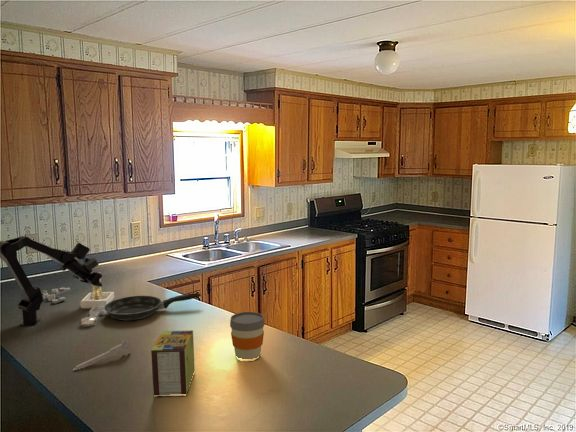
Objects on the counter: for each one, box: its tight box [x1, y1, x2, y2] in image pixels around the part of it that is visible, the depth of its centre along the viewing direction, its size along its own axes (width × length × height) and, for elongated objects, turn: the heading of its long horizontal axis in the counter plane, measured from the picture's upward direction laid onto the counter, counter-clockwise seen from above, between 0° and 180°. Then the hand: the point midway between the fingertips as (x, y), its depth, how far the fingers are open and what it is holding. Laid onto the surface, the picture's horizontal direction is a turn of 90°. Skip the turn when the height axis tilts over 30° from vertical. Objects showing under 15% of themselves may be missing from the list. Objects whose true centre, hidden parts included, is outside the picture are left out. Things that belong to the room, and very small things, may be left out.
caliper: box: [72, 338, 132, 372], centre depth 167 cm, size 20×1×6 cm, turn 131°
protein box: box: [150, 330, 196, 396], centre depth 149 cm, size 10×15×16 cm
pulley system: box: [41, 287, 71, 305], centre depth 241 cm, size 27×5×15 cm
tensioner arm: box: [80, 306, 108, 328], centre depth 210 cm, size 21×7×2 cm, turn 6°
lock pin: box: [91, 271, 103, 300], centre depth 230 cm, size 4×4×13 cm
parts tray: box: [80, 291, 115, 309], centre depth 231 cm, size 14×12×4 cm
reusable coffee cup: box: [229, 311, 266, 359], centre depth 170 cm, size 13×13×15 cm
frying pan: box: [104, 292, 202, 321], centre depth 218 cm, size 44×25×7 cm, turn 107°
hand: (99, 285), depth 231 cm, fingers closed on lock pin, 4 cm apart
